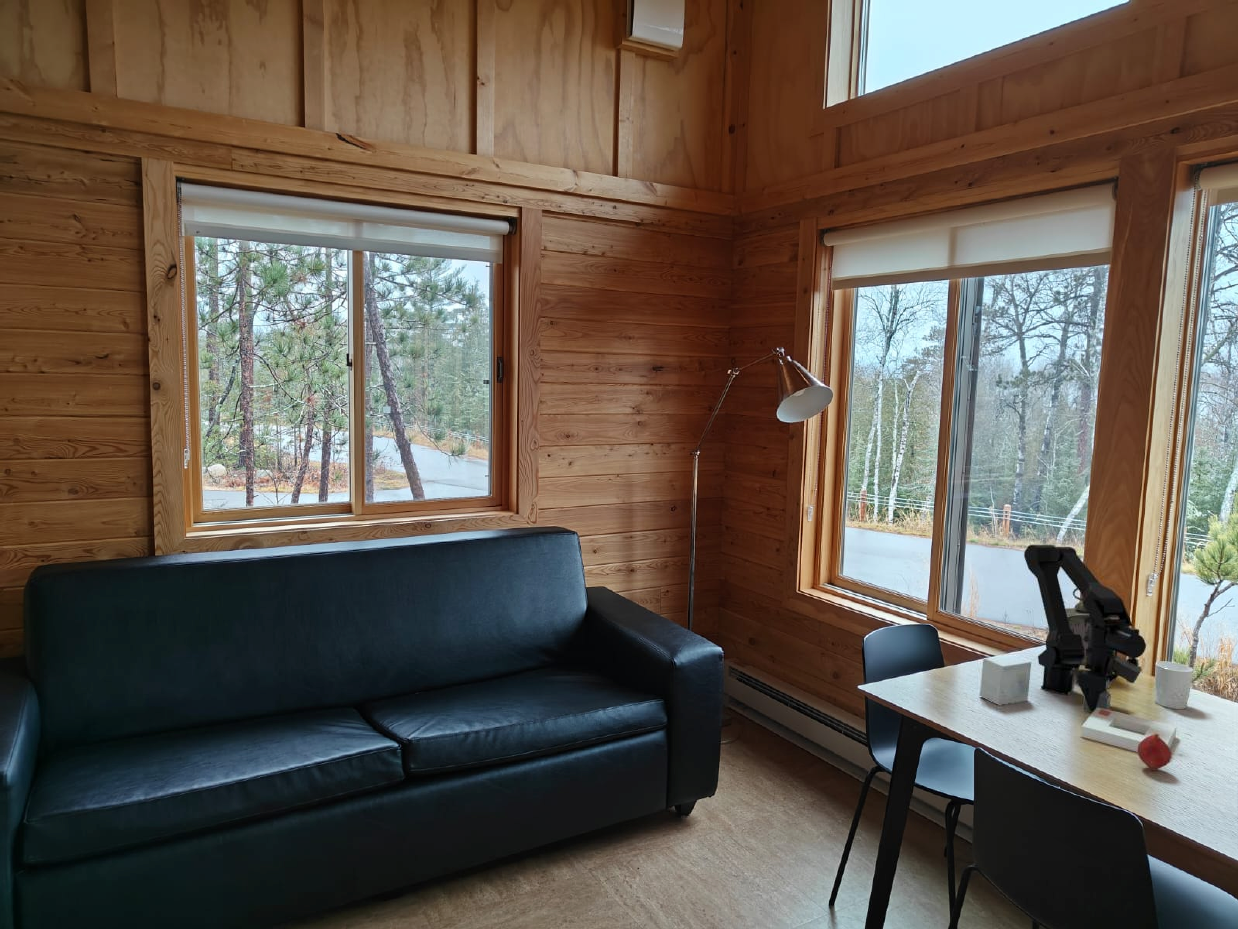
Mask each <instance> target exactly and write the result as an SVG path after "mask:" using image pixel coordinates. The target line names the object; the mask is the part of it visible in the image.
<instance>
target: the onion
mask: <svg viewBox="0 0 1238 929" xmlns="http://www.w3.org/2000/svg"><path fill="white" fill-rule="evenodd" d="M1137 755H1138V758H1139V759H1140V760H1141V761H1142V763H1143V764H1145V766H1146V767H1147V768H1149V769H1150V770H1151V771H1158V770H1159V769H1161V768H1163V767H1165V766H1167V765H1168V764H1169V763H1170V761H1171V759H1172V752H1171V749H1169V747H1168V745H1167V744H1166V743H1165V742H1164V741H1163V740H1162V739H1161V738H1160V737H1159V734H1158V733H1155V734H1154V735H1151V736H1149V737H1146V738H1145V739H1144V740H1142V741H1141V742H1140V744H1139V745H1138V752H1137Z"/></svg>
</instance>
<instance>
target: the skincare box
mask: <svg viewBox="0 0 1238 929" xmlns="http://www.w3.org/2000/svg"><path fill="white" fill-rule="evenodd" d="M981 668H982V671H981V681H980V689H979V696H982V697H983V698H986V699H988V700H989V701H988V700H987V701H988V702H990V701H991V702H990V703H992V702H994V703H997V704H998V705H997V706H1003V705H1002V704H1005V705H1009V704H1008V703H1011V704H1014V703H1013V702H1017V703H1022V701H1023V702H1026V701H1028V700H1029V689H1030V679H1031V670H1032V669H1031V668H1032V661H1030V660H1027V659H1024V658H1022V657H1020V656H1017V655H1015V654H1005V655H997V656H992V657H983V659H982V667H981ZM983 698H982V699H983ZM994 703H993V704H994Z"/></svg>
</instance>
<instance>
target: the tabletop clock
mask: <svg viewBox="0 0 1238 929" xmlns="http://www.w3.org/2000/svg"><path fill="white" fill-rule="evenodd" d="M1077 591H1079V590H1078V588H1077V587H1076V588H1074V589H1073V591H1072V595H1073V598H1075V600H1079V602H1078V603H1076V604H1075V606H1074V607H1071V608H1070V607H1068V608H1067V607H1065V609H1066V613H1067V618H1068V622H1069V626H1070V629H1071V630H1072V631H1073V632H1074V633H1075V634H1080V636H1081V637H1082V643H1083V646H1084V648H1085V650H1084V658H1083V660H1082V663H1081V665H1080V666H1083V667H1085V664H1086V663H1087V655H1088V653H1087V652H1086V648H1087V647H1088V643H1089V632H1090V624H1089V623H1087V622H1084V619H1085V618H1087V617H1089V616H1090V615H1089V613H1088V612H1087V610H1086V608H1085V606H1084V605H1083V603H1082V599H1083V597H1078V596H1077V595H1076V594H1075V593H1076V592H1077ZM1104 619H1112V618H1104ZM1079 670H1080V668H1079V669H1073V671H1079Z"/></svg>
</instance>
